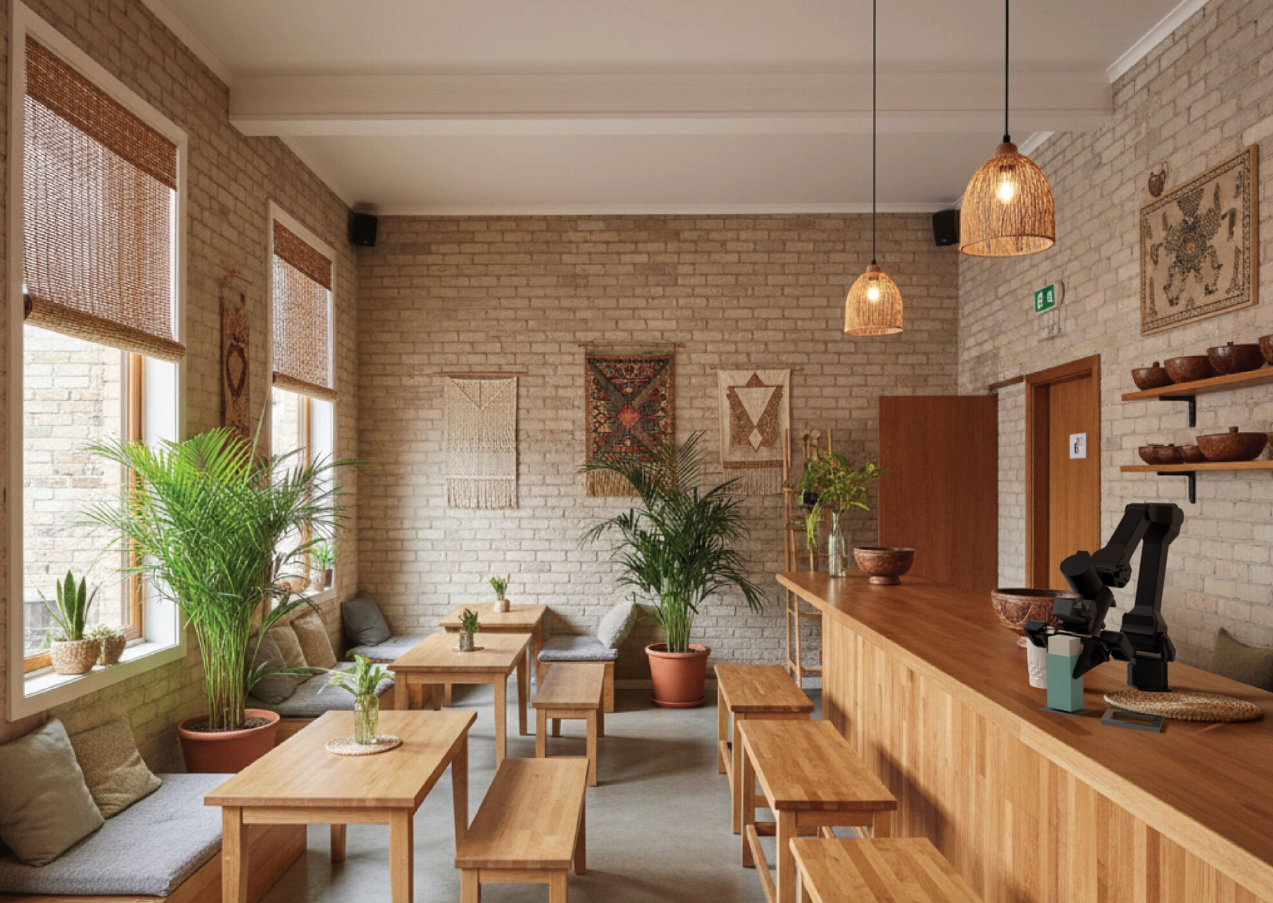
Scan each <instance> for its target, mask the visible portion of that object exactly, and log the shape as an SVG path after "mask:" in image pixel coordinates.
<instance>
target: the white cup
mask: <svg viewBox="0 0 1273 903" xmlns="http://www.w3.org/2000/svg"><path fill="white" fill-rule="evenodd" d="M1025 640H1026V653H1027V654H1026V656H1027V658H1026V659H1027V668H1028V669H1027V670H1028V677H1029V678H1028V679H1029V685H1030V686H1031V687H1034V688H1039V689H1043V690H1047V671H1046V669H1047V651H1046V648H1040V647H1036V646H1034V645H1033V644H1032V642H1031V640H1030V639H1029V637H1028V636H1027V637H1026V639H1025Z"/></svg>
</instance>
